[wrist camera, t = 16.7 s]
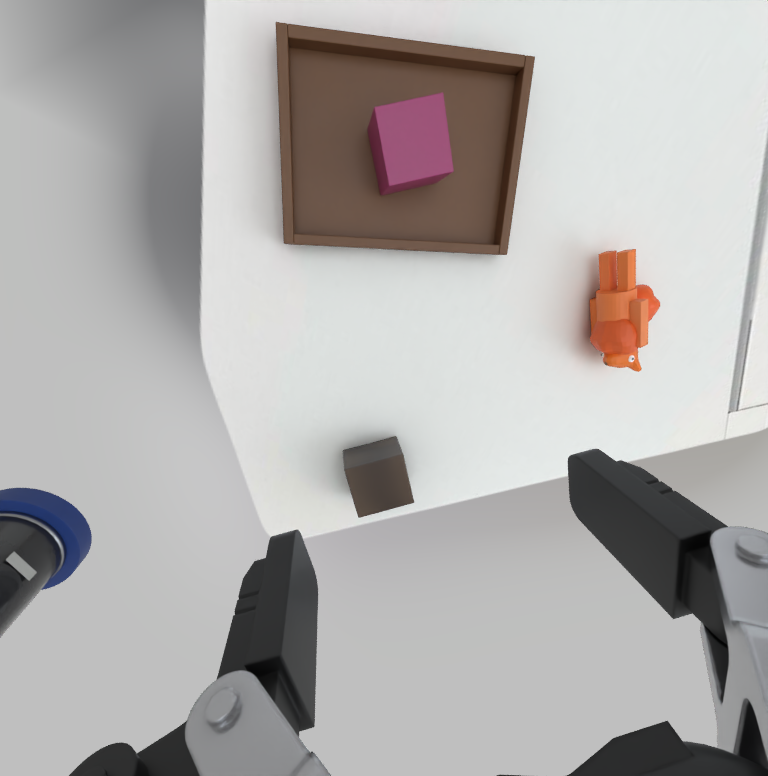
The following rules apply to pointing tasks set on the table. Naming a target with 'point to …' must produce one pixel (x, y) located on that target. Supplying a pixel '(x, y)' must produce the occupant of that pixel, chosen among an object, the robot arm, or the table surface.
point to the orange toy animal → (621, 310)
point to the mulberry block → (410, 143)
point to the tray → (353, 151)
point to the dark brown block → (377, 476)
